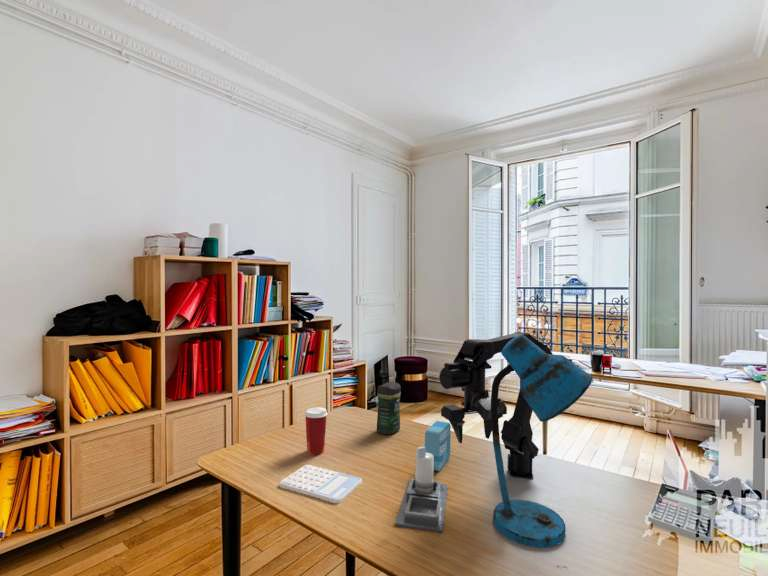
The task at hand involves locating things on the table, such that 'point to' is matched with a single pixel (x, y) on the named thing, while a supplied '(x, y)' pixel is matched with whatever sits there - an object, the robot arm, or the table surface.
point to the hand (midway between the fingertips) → (474, 440)
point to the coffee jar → (388, 408)
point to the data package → (438, 443)
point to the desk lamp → (547, 399)
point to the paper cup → (315, 430)
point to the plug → (424, 471)
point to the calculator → (321, 483)
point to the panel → (423, 508)
